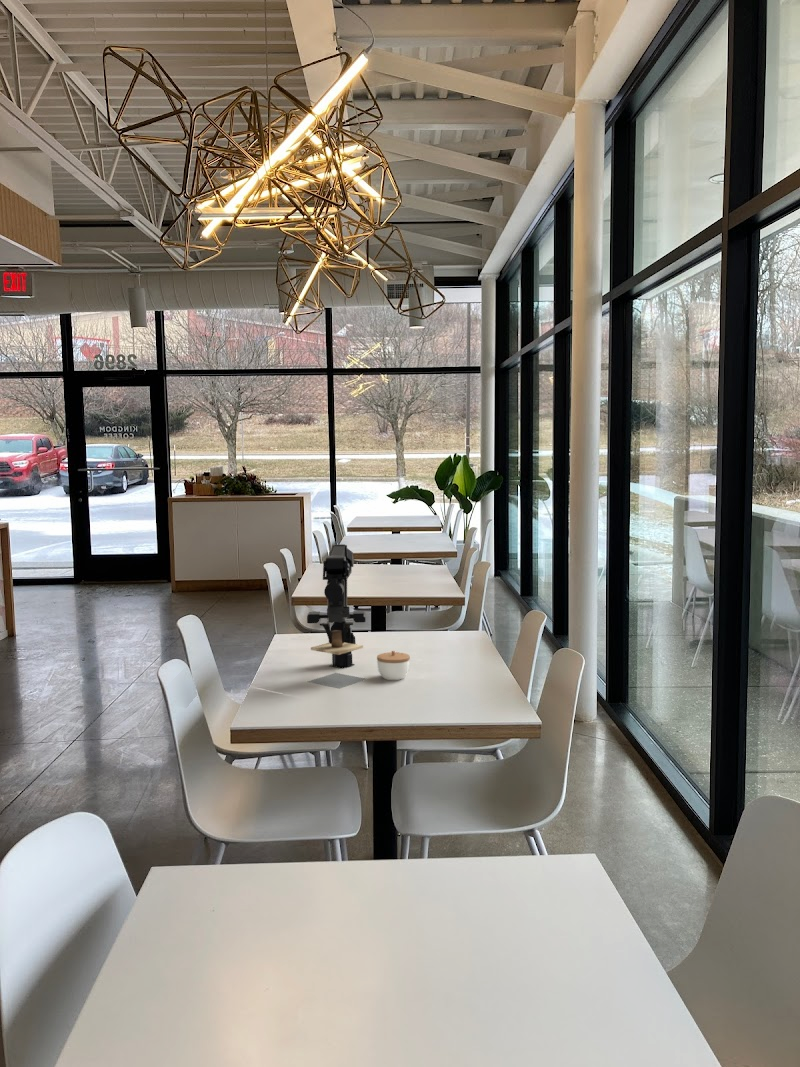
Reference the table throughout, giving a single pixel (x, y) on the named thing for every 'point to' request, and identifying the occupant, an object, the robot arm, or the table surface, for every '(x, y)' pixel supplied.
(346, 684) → the mat
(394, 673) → the lidded jar
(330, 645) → the lid
